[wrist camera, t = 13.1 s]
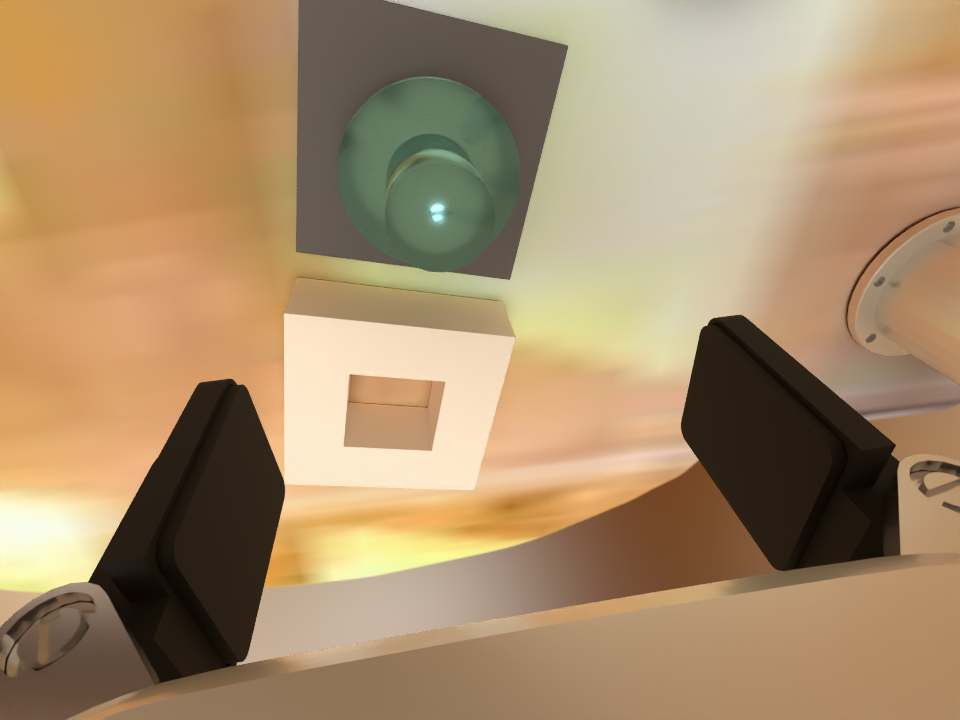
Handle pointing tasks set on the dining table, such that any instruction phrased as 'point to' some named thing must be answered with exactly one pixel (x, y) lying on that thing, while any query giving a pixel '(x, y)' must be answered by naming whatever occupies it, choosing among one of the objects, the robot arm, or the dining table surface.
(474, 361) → the housing
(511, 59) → the mat
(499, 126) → the end cover
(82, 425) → the dining table surface
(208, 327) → the dining table surface
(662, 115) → the dining table surface
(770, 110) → the dining table surface
